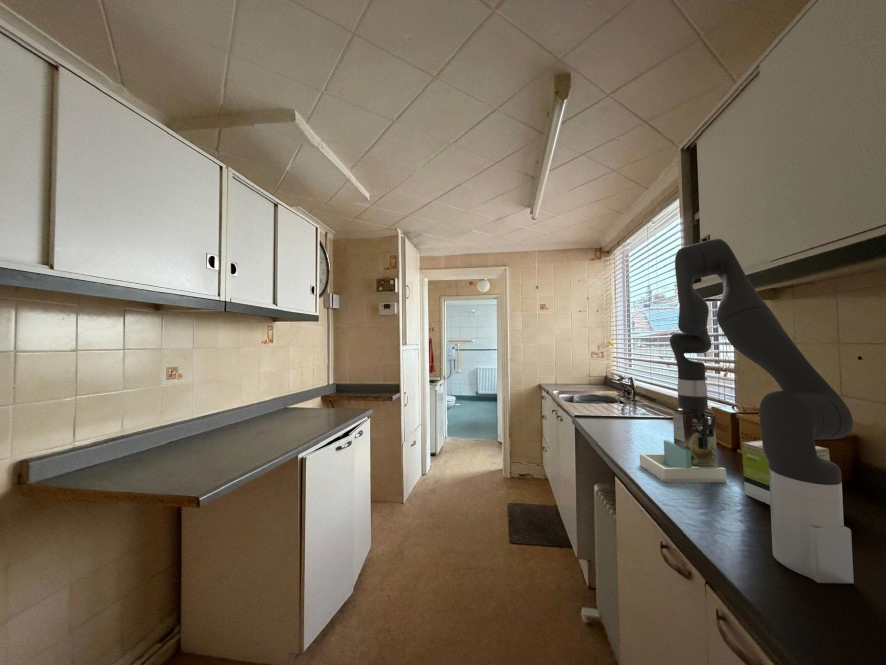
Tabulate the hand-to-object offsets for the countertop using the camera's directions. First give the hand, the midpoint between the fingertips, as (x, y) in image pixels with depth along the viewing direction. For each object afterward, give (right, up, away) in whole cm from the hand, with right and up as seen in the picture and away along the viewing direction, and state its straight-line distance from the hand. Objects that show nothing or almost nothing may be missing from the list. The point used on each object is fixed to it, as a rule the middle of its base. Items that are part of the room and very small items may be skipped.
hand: (694, 445), depth 102 cm
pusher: (-5, -8, 0) cm, 9 cm away
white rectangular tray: (-4, -9, 0) cm, 10 cm away
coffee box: (0, -6, 0) cm, 6 cm away
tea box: (+11, -9, -17) cm, 22 cm away
